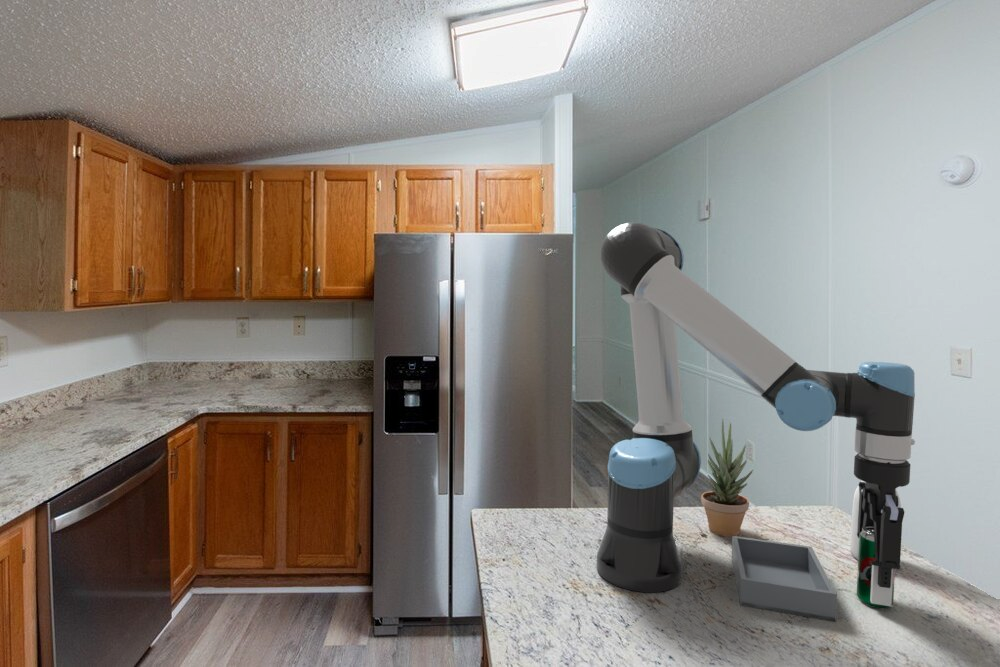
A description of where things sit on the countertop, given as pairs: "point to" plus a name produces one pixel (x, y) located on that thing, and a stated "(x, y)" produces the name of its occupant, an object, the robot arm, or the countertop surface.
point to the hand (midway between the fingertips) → (874, 594)
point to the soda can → (867, 567)
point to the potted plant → (726, 490)
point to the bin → (782, 578)
